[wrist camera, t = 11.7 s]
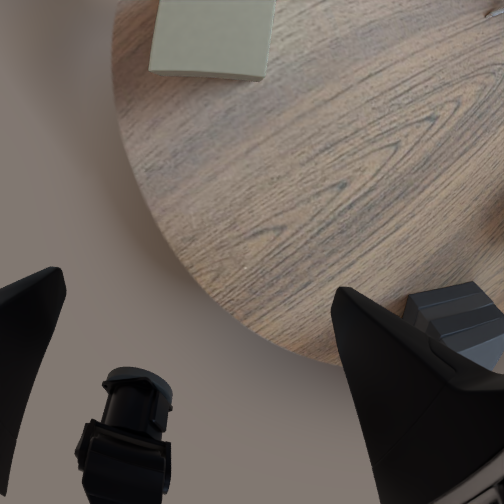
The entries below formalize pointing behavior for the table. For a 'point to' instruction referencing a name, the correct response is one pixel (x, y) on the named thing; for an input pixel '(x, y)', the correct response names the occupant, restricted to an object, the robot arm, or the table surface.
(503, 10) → the figurine
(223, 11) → the cream block
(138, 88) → the table surface
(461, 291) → the grey stack
